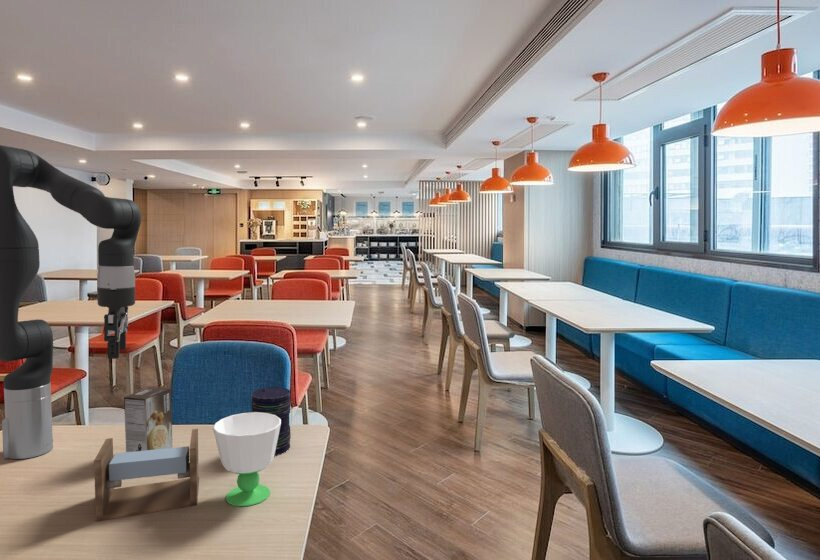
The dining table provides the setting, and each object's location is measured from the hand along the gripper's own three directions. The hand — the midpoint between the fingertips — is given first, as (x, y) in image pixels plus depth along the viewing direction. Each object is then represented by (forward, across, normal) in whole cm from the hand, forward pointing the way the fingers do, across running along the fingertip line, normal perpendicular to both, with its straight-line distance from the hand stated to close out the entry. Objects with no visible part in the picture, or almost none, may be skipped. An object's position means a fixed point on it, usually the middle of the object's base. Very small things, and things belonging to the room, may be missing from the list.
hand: (117, 353), depth 116 cm
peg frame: (+27, +20, +9) cm, 34 cm away
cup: (+26, +24, +28) cm, 46 cm away
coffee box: (+27, -4, +6) cm, 28 cm away
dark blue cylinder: (+27, +1, +35) cm, 44 cm away
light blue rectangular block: (+21, +19, +9) cm, 30 cm away
